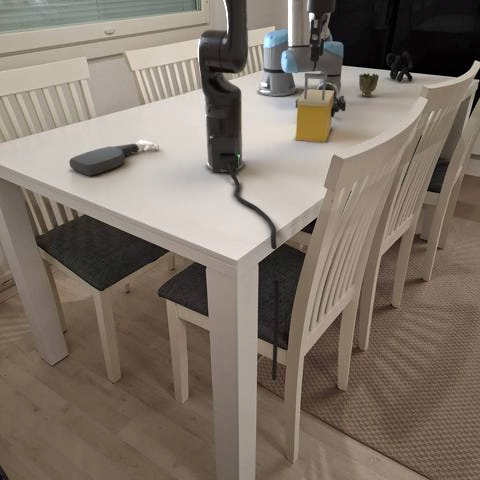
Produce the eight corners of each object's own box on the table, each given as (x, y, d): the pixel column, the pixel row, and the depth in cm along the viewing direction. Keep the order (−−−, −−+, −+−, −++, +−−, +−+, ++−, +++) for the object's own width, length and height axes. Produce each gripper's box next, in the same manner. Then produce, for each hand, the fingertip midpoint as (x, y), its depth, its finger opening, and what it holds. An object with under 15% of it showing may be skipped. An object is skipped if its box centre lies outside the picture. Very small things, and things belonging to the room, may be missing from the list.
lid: (328, 106, 128) (330, 76, 123) (297, 104, 130) (298, 74, 126) (333, 94, 139) (336, 66, 134) (305, 92, 141) (306, 64, 137)
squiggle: (400, 92, 202) (376, 71, 205) (417, 76, 202) (392, 56, 205) (405, 81, 191) (380, 59, 194) (423, 64, 191) (397, 42, 194)
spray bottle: (67, 168, 120) (139, 144, 136) (91, 178, 114) (163, 151, 130) (65, 157, 118) (137, 134, 134) (89, 167, 112) (162, 142, 128)
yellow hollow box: (325, 142, 134) (328, 106, 128) (295, 139, 136) (297, 104, 131) (330, 128, 145) (333, 94, 139) (303, 126, 147) (305, 93, 141)
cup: (354, 97, 177) (357, 76, 172) (359, 92, 182) (362, 72, 178) (373, 99, 174) (376, 77, 169) (378, 94, 179) (381, 73, 175)
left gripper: (311, -10, 122) (307, 53, 131) (302, -7, 111) (298, 62, 119) (339, -10, 120) (333, 54, 129) (332, -7, 109) (327, 63, 117)
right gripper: (356, 106, 157) (350, 126, 139) (295, 103, 163) (282, 121, 145) (358, 84, 153) (353, 101, 135) (296, 81, 159) (283, 97, 141)
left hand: (316, 58), depth 124 cm, fingers open, 8 cm apart
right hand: (316, 111), depth 140 cm, fingers closed on yellow hollow box, 9 cm apart
